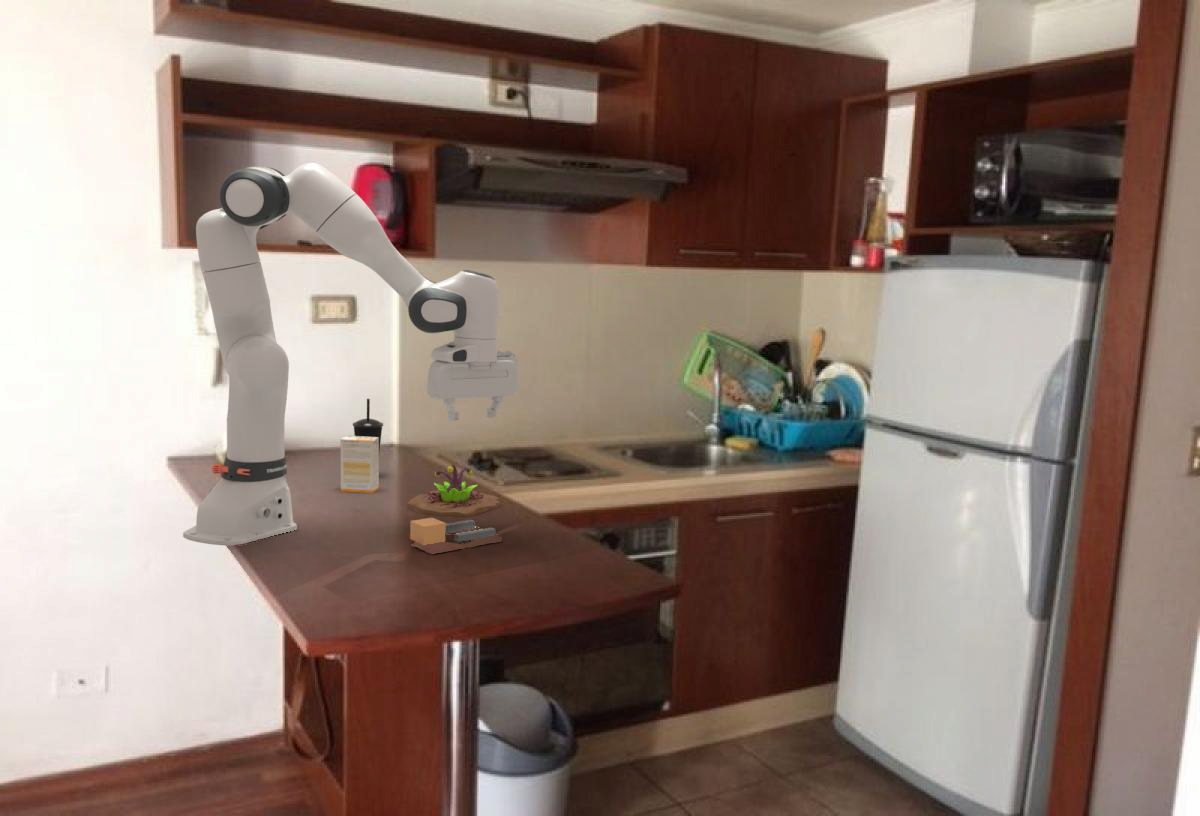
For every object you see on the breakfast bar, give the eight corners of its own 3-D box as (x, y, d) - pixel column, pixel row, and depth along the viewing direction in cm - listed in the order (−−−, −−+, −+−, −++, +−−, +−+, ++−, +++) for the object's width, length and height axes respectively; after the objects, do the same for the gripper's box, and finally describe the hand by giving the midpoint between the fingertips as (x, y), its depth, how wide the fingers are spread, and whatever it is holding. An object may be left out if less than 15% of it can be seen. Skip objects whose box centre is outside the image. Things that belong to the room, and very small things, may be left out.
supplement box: (379, 489, 244) (380, 436, 242) (373, 494, 239) (373, 440, 237) (346, 487, 245) (346, 434, 243) (339, 491, 240) (339, 438, 238)
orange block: (431, 536, 202) (432, 517, 202) (445, 542, 198) (445, 523, 198) (410, 540, 199) (410, 521, 198) (423, 546, 195) (423, 526, 195)
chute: (471, 529, 212) (472, 517, 212) (502, 541, 204) (502, 529, 204) (402, 541, 201) (402, 529, 201) (431, 555, 193) (432, 542, 193)
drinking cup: (388, 475, 259) (389, 399, 256) (367, 480, 253) (368, 402, 250) (367, 471, 263) (368, 395, 260) (345, 475, 257) (346, 398, 254)
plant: (392, 515, 222) (393, 465, 221) (434, 496, 241) (435, 451, 239) (474, 526, 216) (475, 476, 215) (510, 506, 235) (512, 460, 233)
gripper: (508, 349, 212) (505, 413, 214) (424, 350, 199) (422, 419, 201) (525, 352, 208) (522, 418, 210) (441, 354, 194) (438, 424, 196)
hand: (472, 418), depth 205 cm, fingers open, 8 cm apart
